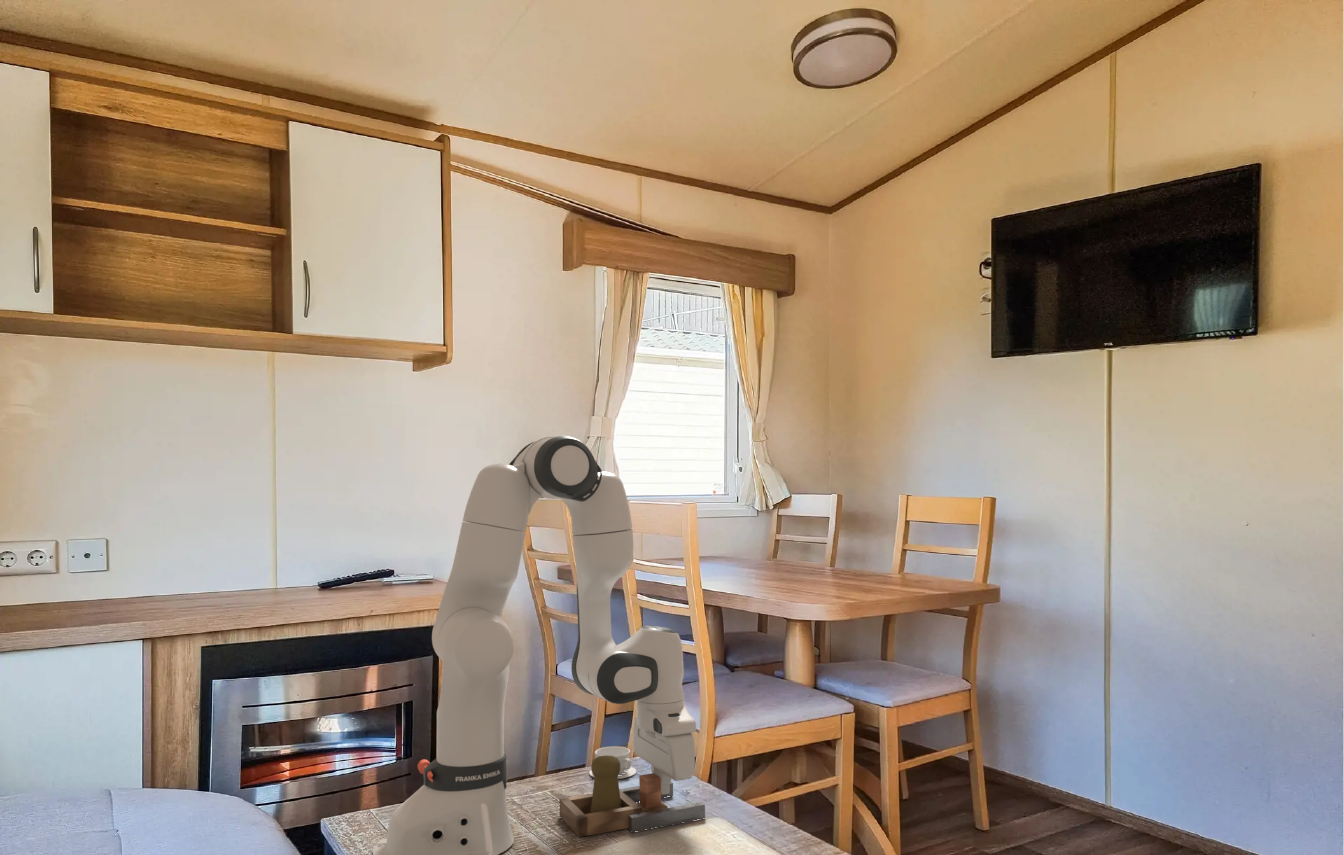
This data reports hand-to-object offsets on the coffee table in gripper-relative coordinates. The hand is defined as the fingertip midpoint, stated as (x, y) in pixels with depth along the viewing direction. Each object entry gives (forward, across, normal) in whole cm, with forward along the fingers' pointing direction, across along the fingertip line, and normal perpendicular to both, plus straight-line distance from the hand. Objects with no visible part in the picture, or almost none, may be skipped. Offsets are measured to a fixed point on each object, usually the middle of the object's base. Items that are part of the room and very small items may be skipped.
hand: (662, 792), depth 158 cm
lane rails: (+3, 0, -2) cm, 4 cm away
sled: (+3, 0, -9) cm, 9 cm away
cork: (+4, 0, -11) cm, 11 cm away
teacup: (+4, -25, 0) cm, 25 cm away
